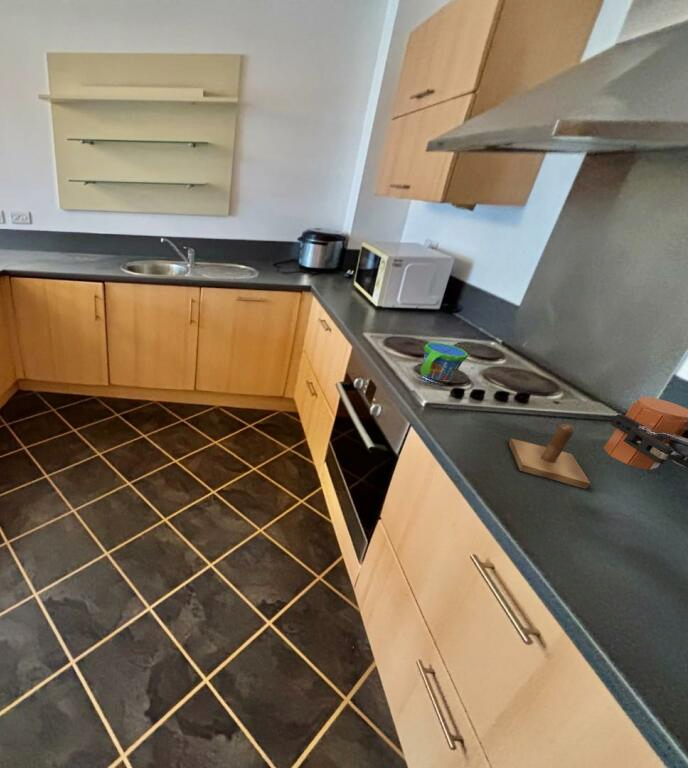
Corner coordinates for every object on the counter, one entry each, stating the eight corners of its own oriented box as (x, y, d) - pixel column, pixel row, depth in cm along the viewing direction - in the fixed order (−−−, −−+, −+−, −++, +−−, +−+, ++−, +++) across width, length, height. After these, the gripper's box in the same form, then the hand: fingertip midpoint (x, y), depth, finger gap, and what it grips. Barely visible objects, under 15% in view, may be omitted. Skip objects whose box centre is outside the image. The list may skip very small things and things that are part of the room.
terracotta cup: (645, 453, 71) (681, 403, 66) (663, 473, 66) (704, 421, 61) (599, 442, 73) (631, 393, 69) (613, 461, 68) (649, 409, 64)
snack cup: (435, 370, 129) (447, 339, 125) (467, 385, 121) (482, 353, 116) (400, 376, 123) (411, 344, 119) (432, 392, 115) (446, 359, 110)
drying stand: (568, 459, 90) (593, 419, 85) (586, 489, 81) (615, 447, 77) (508, 443, 94) (529, 405, 89) (519, 470, 85) (543, 429, 81)
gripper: (837, 468, 53) (691, 402, 67) (731, 463, 52) (607, 398, 67) (793, 511, 56) (663, 440, 71) (693, 508, 56) (583, 436, 70)
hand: (636, 420), depth 69 cm, fingers closed on terracotta cup, 6 cm apart
